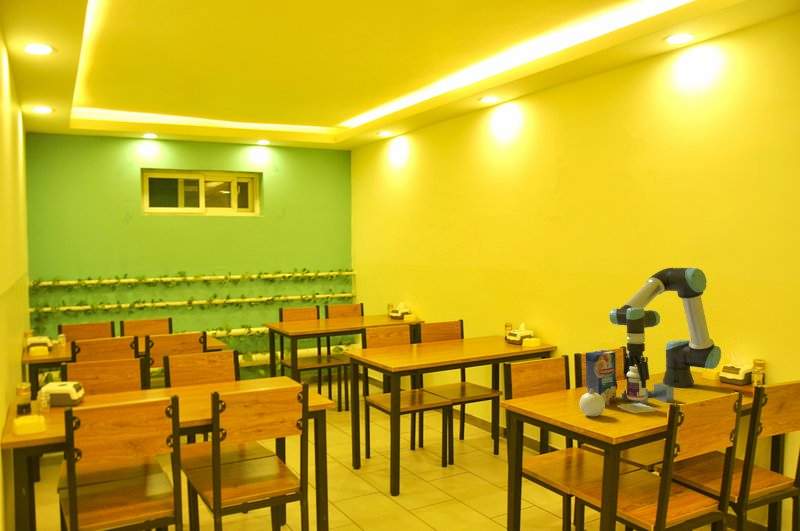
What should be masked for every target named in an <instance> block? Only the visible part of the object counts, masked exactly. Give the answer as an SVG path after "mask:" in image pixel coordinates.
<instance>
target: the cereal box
mask: <svg viewBox="0 0 800 531" xmlns="http://www.w3.org/2000/svg"><path fill="white" fill-rule="evenodd" d="M616 356H617V354H616V352H615V351H612V350H605V349H604V350H603V349H601V350H596V351H588V352H585V387H586V388H585V390H586V392H585V394H586V393H589V391H590V389H593V391H594V393H597V394H599V395H601V396H602V398H603V399H604V402H605V407H606V406H610V405H615V404H617V390H616V382H617V374H616V373H617V369H616V365H617V363H616V361H617V360H616Z"/></svg>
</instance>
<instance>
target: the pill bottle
mask: <svg viewBox="0 0 800 531" xmlns="http://www.w3.org/2000/svg"><path fill="white" fill-rule="evenodd" d="M639 380H640V376H639V372H638V368H637V366H636V365H635V366H630V371H629V372H628V373H627V376H626V393H627V398H628V399H631V400H644V399H645V398H646V395H639Z"/></svg>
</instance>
